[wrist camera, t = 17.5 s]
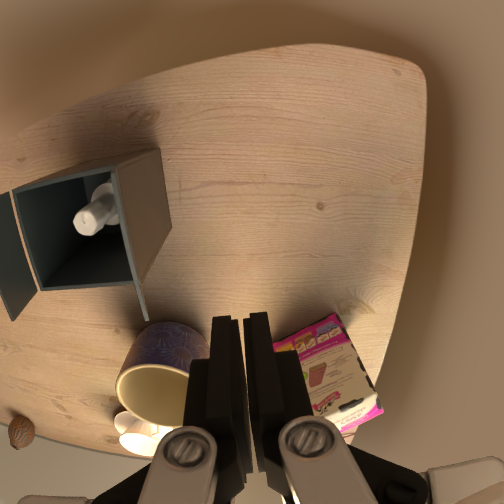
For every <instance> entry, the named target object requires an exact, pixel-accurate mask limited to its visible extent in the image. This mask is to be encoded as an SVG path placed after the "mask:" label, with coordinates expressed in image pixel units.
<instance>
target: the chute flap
mask: <svg viewBox="0 0 504 504" xmlns="http://www.w3.org/2000/svg"><path fill="white" fill-rule="evenodd" d="M110 175H111V181H112V186H113V192H114V197H115V203H116V208H117V213H118V218H119V222H120V227H121V232H122V236H123V240H124V245H125V249H126V253H127V257H128V261H129V265H130V269H131V273H132V277H133V281H134V285H135V288H136V292H137V295H138V299H139V302H140V306H141V309H142V313H143V316H144V319H145V321H149V317H148V312H147V308H146V303H145V298H144V294H143V289H142V285H141V281H140V277H139V273H138V269H137V265H136V261H135V256H134V252H133V248H132V243H131V239H130V234H129V230H128V225H127V220H126V215H125V210H124V205H123V200H122V194H121V189H120V183H119V177H118V171H117V166H113V168H112V171H111V174H110Z"/></svg>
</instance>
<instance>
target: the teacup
mask: <svg viewBox="0 0 504 504" xmlns="http://www.w3.org/2000/svg"><path fill="white" fill-rule="evenodd" d="M114 424H115V427H116V428H117V430H118V431H119V432H120V433H121V434H122V435H121V436H120V437H119V441H120V443H121V444H122V446H123V447H125V448H126V449H127V450H129V451H131V452H133V453H136V454H139V455H144V456H154V454H155V451H156V448H157V445H158V443H159V442H160V440H161V438H162V437H163V436H164V435H165V434H166V433H167V432H169V431H171V430H173V429H172V428H168V427H161V426H157V425H153V424H150V423H148V422H145V421H143V420H141V419H139V418H137V417H136V416H134V415H133V414H131V413H130V412H129V411H123V412H121V413H119V414H117V415H116V416H115V419H114Z"/></svg>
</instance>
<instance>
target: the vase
mask: <svg viewBox="0 0 504 504" xmlns="http://www.w3.org/2000/svg"><path fill="white" fill-rule="evenodd" d="M8 434H9V438H10V445H11V446H12V447H13V448H14V449H16V450H19V449H20V448H23V447H26V446H28V445H29V444H30V443H31V442H32V441H33V439H34V436H35V429H34V426H33V424H32V423H31V421H29V420H28V419H27V418H25V417H22V416H20V417H16V418H14V419H13V420H12V421H11V423H10V425H9V428H8Z"/></svg>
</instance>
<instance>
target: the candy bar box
mask: <svg viewBox="0 0 504 504" xmlns="http://www.w3.org/2000/svg"><path fill="white" fill-rule="evenodd" d="M273 348H274V352H280V351H289V350H297V353H298V356H299V360H300V364H301V367H302V371H303V375H304V379H305V382H306V386H307V390H308V394H309V397H310V401H311V405H312V409H313V413H314V416H320V417H323V418H326V419H328V420H329V421H331V422H332V423H334V424H335V425H336V427H337V428H338V429H339V431H340V433H341V432H344V431H346V430H348V429H350V428H353V427H355V426H357V425H359V424H361V423H363V422H365V421H368V420H370V419H372V418H373V417H376V416H378V415H380V414H382V413H383V412H384V411H383V408H382V405H381V402H380V400H379V397H378V395H377V392H376V390H375V388H374V386H373V384H372V382H371V380H370V378H369V376H368V374H367V372H366V370H365V368H364V366H363V364H362V362H361V360H360V357H359V356H358V353H357V351H356V349H355V347H354V345H353V343H352V341H351V340H350V338H349V336H348V334H347V332H346V330H345V328H344V326H343V324H342V322H341V319H340V317H339V316H338V314H337V313H333V314H331V315H329V316H327V317H326V318H324V319H322V320H320V321H318V322H316V323H314V324H312V325H310V326H308V327H306V328H304V329H302V330H300V331H298V332H296V333H294V334H292V335H290V336H288V337H286V338H284V339H281V340H279V341H277V342H275V343H273Z"/></svg>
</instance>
